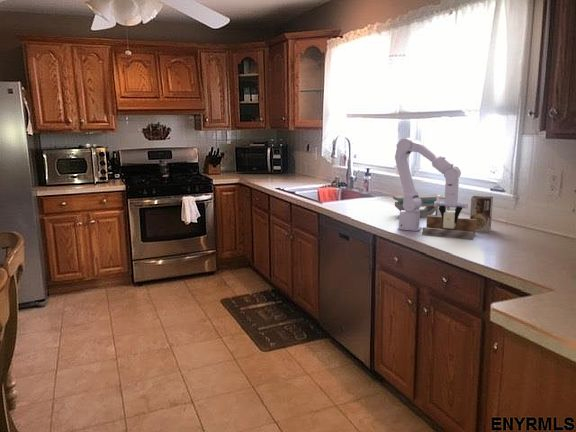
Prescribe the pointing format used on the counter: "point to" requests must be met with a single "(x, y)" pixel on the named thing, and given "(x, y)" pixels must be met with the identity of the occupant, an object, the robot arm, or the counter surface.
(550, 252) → the counter surface
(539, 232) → the counter surface
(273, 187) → the counter surface
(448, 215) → the cream box
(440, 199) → the syrup box
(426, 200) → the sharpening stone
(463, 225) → the cleat board
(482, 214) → the coffee box
